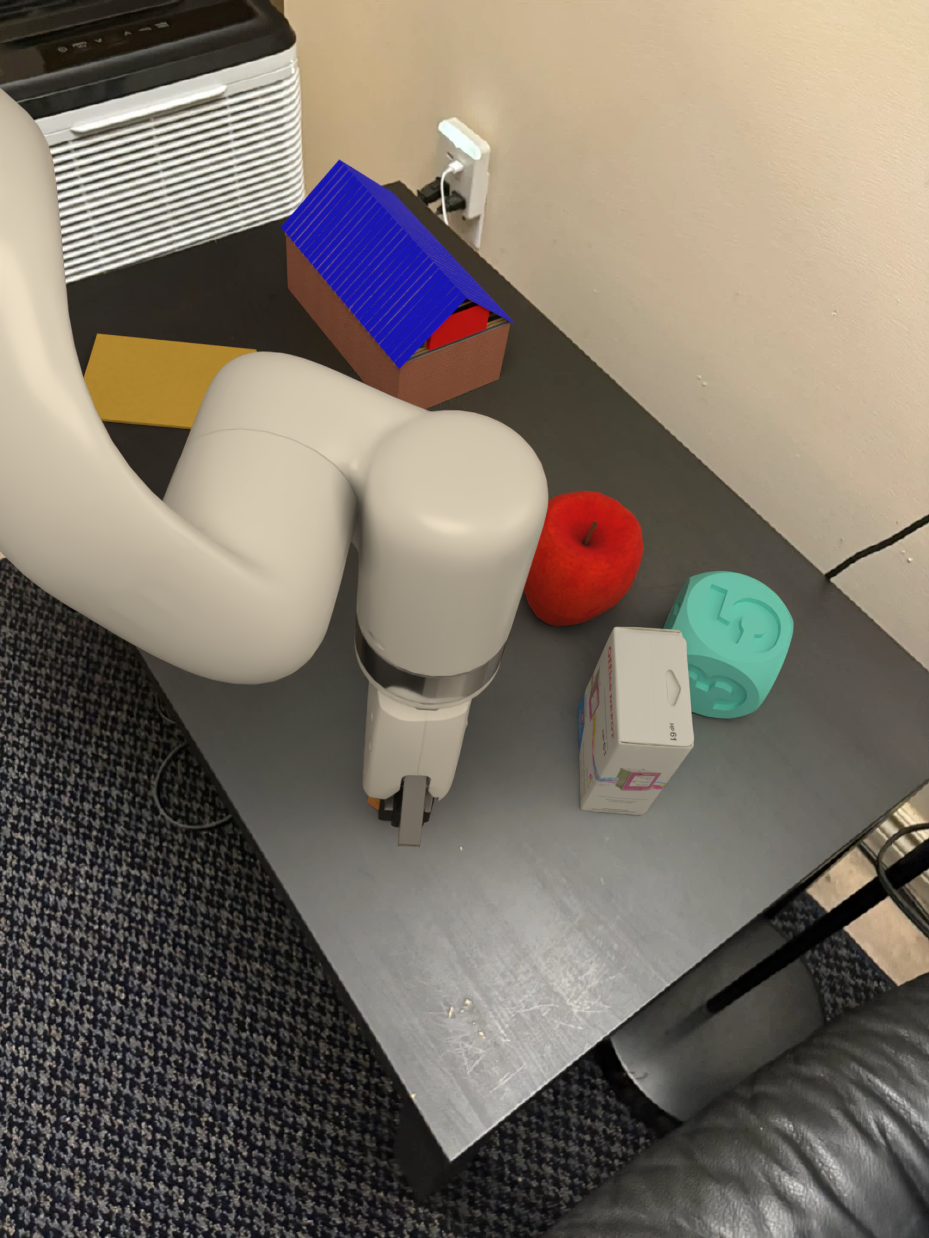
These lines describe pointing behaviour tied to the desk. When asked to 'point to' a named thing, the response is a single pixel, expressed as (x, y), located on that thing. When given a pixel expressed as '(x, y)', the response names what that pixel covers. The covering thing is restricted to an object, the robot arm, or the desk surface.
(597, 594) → the apple
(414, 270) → the house
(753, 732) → the desk surface
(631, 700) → the ink box
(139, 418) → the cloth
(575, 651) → the desk surface
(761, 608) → the decorative dice
